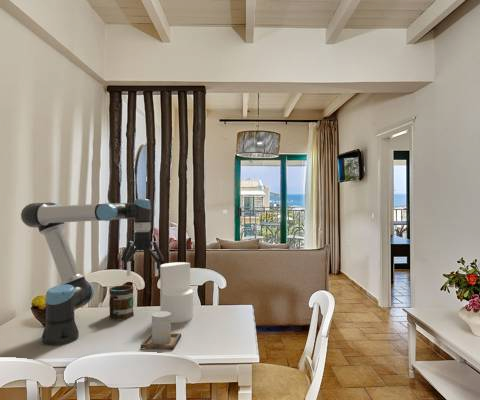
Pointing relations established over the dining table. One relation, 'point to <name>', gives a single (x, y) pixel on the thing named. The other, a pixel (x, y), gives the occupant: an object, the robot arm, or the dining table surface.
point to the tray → (170, 346)
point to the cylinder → (176, 291)
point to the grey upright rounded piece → (161, 327)
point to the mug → (121, 302)
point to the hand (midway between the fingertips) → (142, 275)
